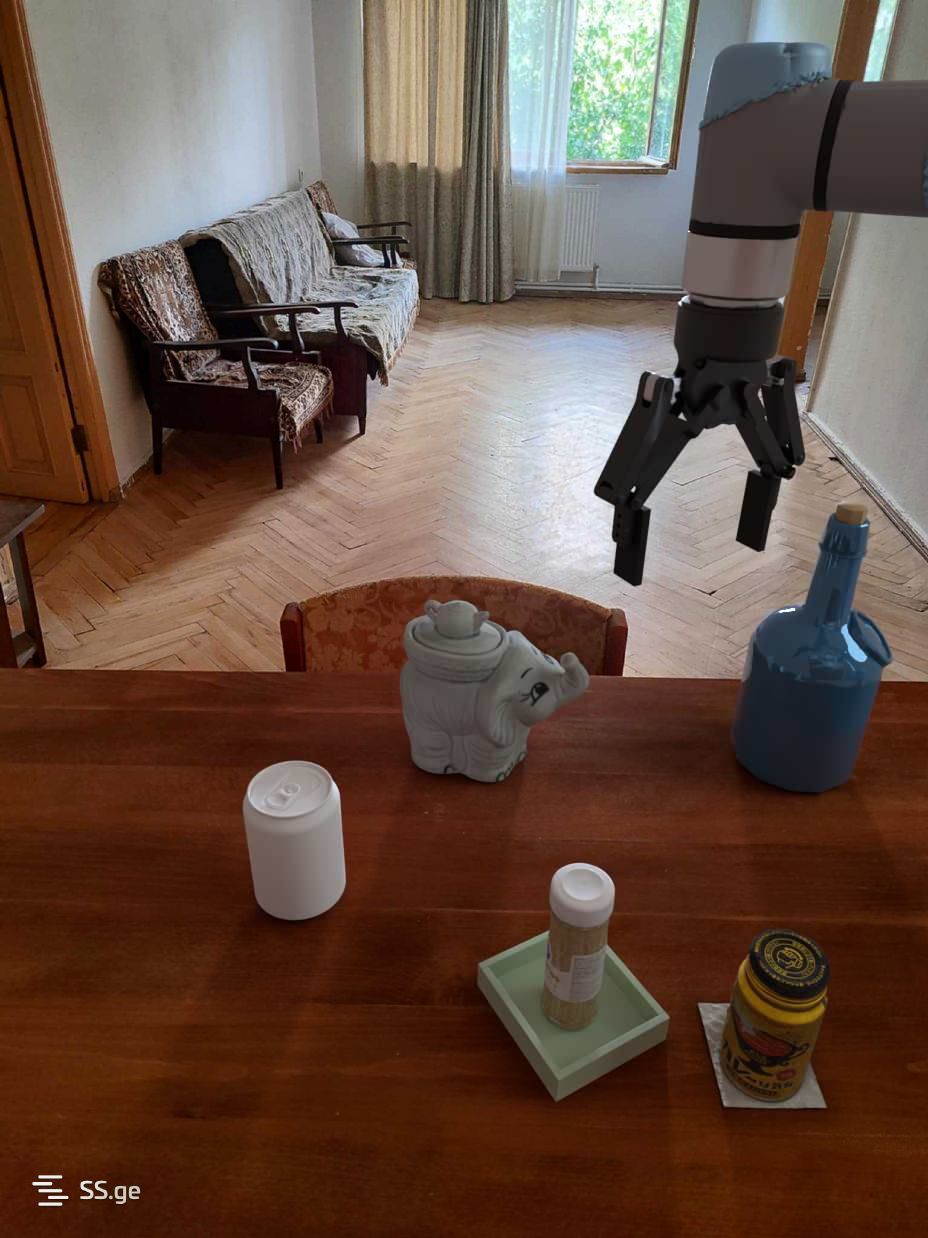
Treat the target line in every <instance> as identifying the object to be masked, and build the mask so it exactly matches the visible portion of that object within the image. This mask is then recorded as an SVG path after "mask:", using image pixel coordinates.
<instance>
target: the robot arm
mask: <svg viewBox="0 0 928 1238" xmlns="http://www.w3.org/2000/svg"><path fill="white" fill-rule="evenodd" d="M831 65H832V52H831V49H830V47H828V46H827V45H825V44H823V43H818V42H817V43H816V42H802V41H795V42H794V41H793V42H782V41H759V42H757V41H756V42H741V43H734V44H731V45H728V46H726V47H724V48H723V49H721V51H719V53H718V54H717V55H716V56H715V58H714V59H713V61H712V64H711V67H710V74H709V78H708V83H707V84H708V85H707V89H706V96H705V101H704V106H703V112H702V117H701V118H702V119H701V120H700V122H699V124H698V131H699V134H698V135H699V137H698V146H697V155H696V163H695V164H696V165H695V173H694V180H693V181H694V182H693V189H692V190H693V192H692V200H691V207H690V208H691V209H690V217H689V225H688V231H687V235H686V242H685V243H686V244H685V251H684V259H683V267H682V275H681V283H680V287H681V289H682V290H683V291H684V292H685V293H687V294H688V295H685V296H683V297H682V298H681V300H680V301H678V303H677V310H676V317H675V318H676V319H675V326H674V334H673V346H674V348H675V351H676V354H677V364H676V367H675V369H674V371H673V372H672V374H660V373H657V372H654V371H651V370H644V371H643V372H642V373H641V375H640V377H639V381H638V386H637V391H636V396H635V399H634V400H635V401H634V403H633V405H632V407H631V410H630V411H629V414H628V416H627V418H626V420H625V422H624V424H623V426H622V428H621V430H620V433H619V434H618V436H617V439H616V441H615V443H614V445H613V448H612V449H611V452H610V453H609V455H608V458H607V460H606V462H605V464H604V466H603V469H602V471H601V473H600V475H599V477H598V479H597V481H596V483H595V485H594V487H593V494H594V496H596V497H597V498H599V499H601V500H602V501H604V502H606V503H608V504H609V505H612V506H613V507H614V509H613V519H612V528H611V539H612V542H614V543H615V544H616V545H615V552H614V560H613V561H614V563H613V572H612V574H613V575H615V576H617V577H618V578H619V579H621V580H623V581H624V582H626V583H628V584H629V585H630V586H632V587H634V588H635V587H638V586H643V585H642V584H643V576H644V570H645V561H646V554H647V553H646V552H647V545H648V538H649V531H650V530H649V529H650V521H651V515H652V508H650V507H648V506H646V505H644V504H646V502H647V501H648V499H649V498H650V496H651V495H652V494H653V492H654V491H655V490H656V488H657V487H658V485H659V484H660V483H661V481H662V480H663V478H664V477H665V476H666V474H667V473H668V471H669V470H670V469H671V467H672V466H673V464H674V463H675V462H676V460H677V459H678V457H679V456H680V454H681V453H682V452H683V450H684V449H685V447H686V446H687V444H688V443H689V442H690V441H691V440H694V439H696V438H698V437H699V436H700V435H701V433H702V432H703V431H704V429H705V430H710V429H711V430H712V429H715V428H717V427H719V426H721V425H727V426H732V425H734V426H735V428H736V429H737V431H738V433H739V435H740V437H741V439H742V441H743V443H744V445H745V446H746V448H747V450H748V452H749V454H750V456H751V458H752V460H753V461H754V463H755V465H756V467H757V468H758V469H759V470H757V469H750V470H748V471H747V476H746V480H745V481H746V482H745V487H744V492H743V498H742V504H741V509H740V514H739V519H738V524H737V530H736V537H735V541H736V542H737V543H739V544H741V545H743V546H744V547H747V548H749V549H750V550H753V551H754V552H757V553H762V552H764V551H766V550H765V549H766V545H767V539H768V533H769V530H770V526H771V525H770V524H771V519H772V515H773V511H774V510H775V508H776V507H777V504H778V500H779V499H778V497H779V494H780V489H781V485H782V479H784V480H787V481H790V480H792V479H793V478H794V477H795V475H796V472H797V468H796V467H800V466H802V465H803V464H804V462H805V461H806V451H805V444H804V438H803V433H802V432H803V431H802V425H801V420H800V413H799V407H798V400H797V395H796V389H795V383H796V374H797V367H798V365H797V364H798V363H797V360H796V359H795V358H790V357H787V356H783V355H781V354H777V352H778V349H779V344H780V339H781V334H782V327H783V323H784V317H785V313H786V309H785V307H783V303H782V302H780V299H783V298H784V297H786V296H788V294H789V293H790V289H791V282H792V279H793V272H794V265H795V261H796V256H797V255H796V254H797V249H798V243H799V235H800V232H801V231H800V230H801V223H802V219H803V215H804V213H805V211H815V212H824V213H827V212H841V213H855V214H867V215H879V216H880V215H881V216H894V217H895V216H897V217H913V218H928V79H907V80H905V79H903V80H902V79H901V80H869V81H855V80H853V79H852V80H851V79H847V80H846V79H842V78H832V77H833V70H832V69H831V67H832V66H831ZM759 392H760V393H761V398H762V400H761V399H760V396H759ZM681 415H682V417H684V418H681V417H680V416H681ZM795 466H796V467H795ZM634 488H635V489H634ZM633 489H634V491H632V490H633Z"/></svg>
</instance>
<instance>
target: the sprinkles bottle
mask: <svg viewBox="0 0 928 1238" xmlns="http://www.w3.org/2000/svg"><path fill="white" fill-rule="evenodd" d="M615 894H616V889H615V885H614V882H613V880H612V879H611V877H610V876H609V874H608V873H607V872H605V870H603V869H601V868H600V867H598V866H595V865H592V864H589V863H584V862H576V863H570V864H566V865H565V866H563V867H560V868H559V869H558V870H557V871H556V872H555V873H554V875H552V878H551V881H550V888H549V905H550V908H551V909H550V920H549V929H548V931H549V933H548V943H547V954H546V963H545V972H544V977H545V979H544V990H543V992H542V996H541V1007H542V1009H543V1012H544V1014H545V1016H546V1017H547V1018H548V1019H549V1020H550V1021H551V1022H552V1023H553V1024H555V1025H557V1026H558V1027H560V1028H564V1029H568V1030H578V1029H581V1028H584V1027H586V1026H588V1025H590V1024H591V1023H592V1022H593V1021H594V1019H595V1017H596V1016H597V1013H598V995H599V989H600V986H601V980H602V974H603V967H604V960H605V953H606V945H608V932H609V931H608V930H609V923H610V916H611V915H612V913H613V911H614V905H615V898H616V897H615V896H616V895H615Z"/></svg>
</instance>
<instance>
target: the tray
mask: <svg viewBox="0 0 928 1238" xmlns="http://www.w3.org/2000/svg"><path fill="white" fill-rule="evenodd" d="M548 933H549V930H546V931H545V932H543V933H541V934H539V935H537V936H534V937H532V938H530V939H527V940H526V941H523V942H521V943H519V944H517V945H515V946H513V947H511V948H508V949H506V950H504V951H502V952H500V953H498V954H496V955H494V956H492V957H490V958H487V959H485V960H483V961H481V962H478V964H477V981H476V983H477V984H476V985H477V987H478V988H479V990H480V991H481V993H482V994H483V996H484V998H485V999H486V1000H487V1002H488V1004H489V1005H490V1006H491V1008H492V1009H493V1010H494V1012H495V1013H496V1015H497V1017H498V1018H499V1020H500V1021H501V1023H502V1024H503V1026H504V1027H505V1029H506V1031H508V1033H509V1034H510V1036H511V1038H512V1039H513V1041H514V1042H515V1043H516V1045H517V1047H518V1048H519V1050H520V1051H521V1052H522V1054H523V1056H524V1057H525V1059H526V1060H527V1062H528V1063H529V1064H530V1066H531V1068H532V1069H533V1070H534V1072H535V1073H536V1075H537V1076H538V1078H539V1080H540V1081H541V1082H542V1084H543V1085H544V1087H545V1088H546V1090H547V1091H548V1092H549V1094H550V1096H551V1097H552V1099H553V1100H554V1102H555V1103H557V1102H559V1101H561V1100H563V1099H565V1098H566V1097H568V1096H569V1095H571V1094H573V1093H575V1092H576V1091H578V1090H580V1089H581V1088H583V1087H585V1086H587V1085H589V1084H590V1083H592V1082H594V1081H596V1080H597V1079H599V1078H601V1077H602V1076H604V1075H606V1074H608V1073H610V1072H612V1071H613V1070H615V1069H617V1068H618V1067H621V1066H622V1065H623V1064H625V1063H627V1062H629V1061H631V1060H632V1059H634V1058H636V1057H638V1056H639V1055H641V1054H643V1053H645V1052H647V1051H648V1050H650V1049H651V1048H653V1047H655V1046H657V1045H659V1044H660V1043H662V1042H664V1041H665V1040H666V1039H667V1034H668V1029H669V1024H670V1020H671V1017H670V1016H669V1014H667V1012H666V1011H665V1010H664V1009H663V1008H662V1007H661V1005H660V1004H659V1003H658V1002H657V1001H656V999H655V998H654V997H653V996H652V995H651V994H650V993H649V991H648V990H647V989H646V988H645V987H644V986H643V984H641V982H640V981H639V980H638V978H637V977H636V976H635V975H634V974H633V973H632V972H631V971H630V970H629V968H628V967H627V966H626V965H625V963H624V962H623V961H622V960H621V959H620V958H619V957H618V956H617V955H616V953H615V952H614V950H612V948H611V947H610V946H609V945H608V944H607V945H606V953H605V960H604V967H603V974H602V980H601V986H600V989H599V995H598V1013H597V1016H596V1017H595V1019H594V1021H593V1022H592V1023H591V1024H590V1025H588V1026H586V1027H584V1028H581V1029H578V1030H568V1029H564V1028H560V1027H558V1026H557V1025H555V1024H553V1023H552V1022H551V1021H550V1020H549V1019H548V1018H547V1017H546V1016H545V1014H544V1012H543V1009H542V1007H541V996H542V992H543V990H544V979H545V977H544V972H545V963H546V954H547V943H548Z"/></svg>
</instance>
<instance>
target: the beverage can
mask: <svg viewBox="0 0 928 1238" xmlns="http://www.w3.org/2000/svg"><path fill="white" fill-rule="evenodd" d="M242 814H243V821H244V828H245V835H246V841H247V849H248V854H249V856H248V857H249V861H250V869H251V876H252V881H253V882H252V883H253V890H254V896H255V899H256V902H257V903H258V906H259V907H260V908H261V909H262V910H264V912H265V913H267V914H269V915H271V916H273V917H274V918H277V919H281V920H287V921H301V920H307V919H311V918H315V917H317V916H319V915H321V914H323V913H325V912H327V911H328V910H330V909H331V908H332V907H333V906H334V905H335V904H336V903H337V902H339V900H340V899H341V897H342V895H343V893H344V891H345V888H346V882H347V880H346V878H347V877H346V865H345V863H346V861H345V850H344V837H343V836H344V835H343V834H344V833H343V822H342V809H341V795H340V791H339V788H338V786H337V784H336V782H335V781H334V780H333V778H332V776H331V774H330V773H329V771H328V770H327V769H325V768H324V767H322V766H320V765H319V764H316V763H313V762H310V761H304V760H289V761H282V762H278V763H275V764H272V765H270V766H268V767H266V768H264V769H262V770H261V771H259V772H258V773H257V774H256V775H255V776H253V778H252V779H251V780H250V782H249V783H248V786H247V789H246V793H245V795H244V798H243V801H242Z"/></svg>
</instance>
